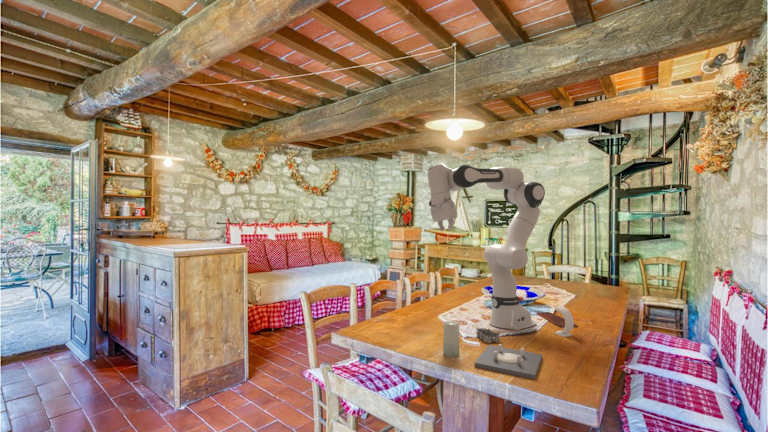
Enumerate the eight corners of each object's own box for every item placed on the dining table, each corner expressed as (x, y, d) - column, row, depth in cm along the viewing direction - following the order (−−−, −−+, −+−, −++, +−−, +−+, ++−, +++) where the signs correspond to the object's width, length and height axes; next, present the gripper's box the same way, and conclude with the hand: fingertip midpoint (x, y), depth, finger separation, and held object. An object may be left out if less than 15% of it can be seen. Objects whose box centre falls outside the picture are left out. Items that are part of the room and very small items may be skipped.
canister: (454, 350, 144) (453, 320, 144) (462, 356, 139) (462, 324, 139) (440, 352, 142) (440, 322, 142) (448, 358, 137) (448, 326, 136)
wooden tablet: (580, 328, 173) (580, 325, 173) (559, 328, 173) (559, 325, 173) (551, 313, 200) (551, 310, 200) (533, 313, 199) (533, 310, 199)
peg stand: (488, 348, 146) (488, 337, 146) (542, 358, 136) (542, 346, 136) (474, 366, 129) (474, 354, 129) (534, 379, 119) (535, 365, 119)
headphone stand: (561, 332, 166) (562, 306, 166) (573, 336, 161) (573, 309, 161) (554, 333, 164) (555, 307, 164) (566, 337, 159) (566, 310, 159)
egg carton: (501, 343, 153) (501, 333, 153) (484, 344, 152) (484, 334, 152) (490, 334, 164) (490, 325, 164) (474, 335, 163) (474, 326, 163)
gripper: (457, 195, 155) (463, 227, 154) (439, 201, 175) (444, 230, 174) (444, 197, 153) (449, 230, 153) (427, 203, 173) (432, 232, 173)
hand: (446, 230), depth 164 cm, fingers open, 8 cm apart
